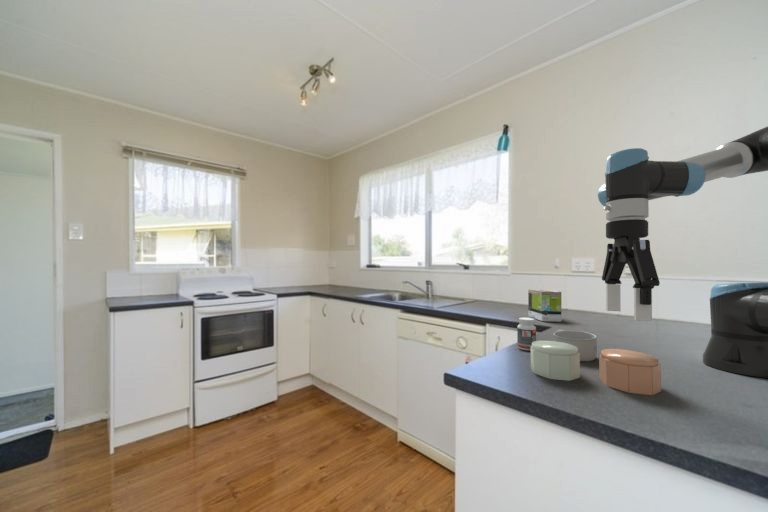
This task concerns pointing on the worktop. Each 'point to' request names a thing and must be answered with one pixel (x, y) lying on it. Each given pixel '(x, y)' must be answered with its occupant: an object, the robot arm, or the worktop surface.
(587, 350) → the teacup
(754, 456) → the worktop surface
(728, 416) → the worktop surface
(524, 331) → the pill bottle
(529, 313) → the tea box
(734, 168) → the robot arm
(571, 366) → the sage acorn nut
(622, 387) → the peach acorn nut
